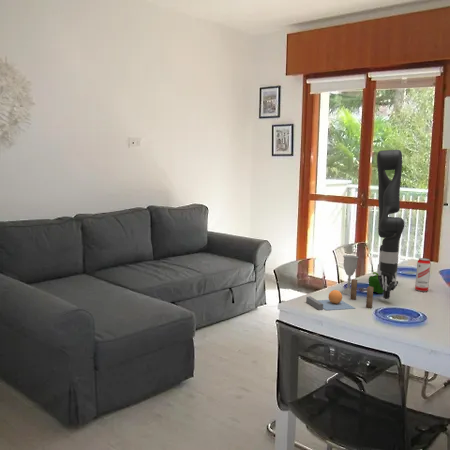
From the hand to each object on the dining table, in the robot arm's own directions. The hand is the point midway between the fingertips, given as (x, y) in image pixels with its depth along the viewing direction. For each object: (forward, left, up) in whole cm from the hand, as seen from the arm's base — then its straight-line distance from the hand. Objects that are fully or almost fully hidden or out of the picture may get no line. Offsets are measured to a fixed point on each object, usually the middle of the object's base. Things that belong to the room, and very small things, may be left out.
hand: (386, 298), depth 227 cm
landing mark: (0, -27, -2) cm, 27 cm away
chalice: (-16, -10, -2) cm, 19 cm away
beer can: (-14, +30, -2) cm, 33 cm away
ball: (-2, -25, +2) cm, 25 cm away
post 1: (-6, -13, -2) cm, 15 cm away
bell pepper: (-15, +5, -2) cm, 16 cm away
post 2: (+6, -13, -2) cm, 15 cm away
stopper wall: (0, -36, -2) cm, 36 cm away
